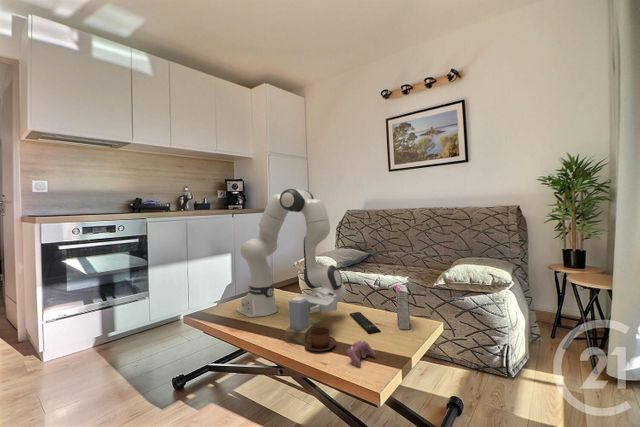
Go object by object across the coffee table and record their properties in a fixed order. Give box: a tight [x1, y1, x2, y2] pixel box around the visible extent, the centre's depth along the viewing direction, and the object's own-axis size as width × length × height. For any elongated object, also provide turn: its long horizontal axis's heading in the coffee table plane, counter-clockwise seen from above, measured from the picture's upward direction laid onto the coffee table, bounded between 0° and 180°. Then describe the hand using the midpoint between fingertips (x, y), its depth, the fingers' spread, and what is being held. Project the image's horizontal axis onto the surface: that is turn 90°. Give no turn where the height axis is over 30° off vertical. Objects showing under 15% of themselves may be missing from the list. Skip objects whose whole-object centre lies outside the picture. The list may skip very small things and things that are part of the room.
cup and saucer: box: [304, 326, 337, 352], centre depth 118 cm, size 12×12×6 cm
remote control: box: [349, 311, 381, 335], centre depth 139 cm, size 5×24×1 cm, turn 14°
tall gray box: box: [288, 295, 310, 331], centre depth 126 cm, size 6×6×12 cm
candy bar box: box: [395, 284, 411, 330], centre depth 135 cm, size 11×5×16 cm, turn 168°
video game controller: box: [347, 340, 377, 368], centre depth 106 cm, size 10×5×7 cm, turn 134°
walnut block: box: [284, 323, 315, 346], centre depth 126 cm, size 9×9×5 cm
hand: (300, 308), depth 126 cm, fingers open, 8 cm apart
